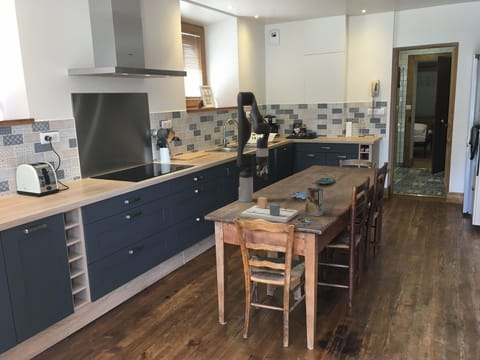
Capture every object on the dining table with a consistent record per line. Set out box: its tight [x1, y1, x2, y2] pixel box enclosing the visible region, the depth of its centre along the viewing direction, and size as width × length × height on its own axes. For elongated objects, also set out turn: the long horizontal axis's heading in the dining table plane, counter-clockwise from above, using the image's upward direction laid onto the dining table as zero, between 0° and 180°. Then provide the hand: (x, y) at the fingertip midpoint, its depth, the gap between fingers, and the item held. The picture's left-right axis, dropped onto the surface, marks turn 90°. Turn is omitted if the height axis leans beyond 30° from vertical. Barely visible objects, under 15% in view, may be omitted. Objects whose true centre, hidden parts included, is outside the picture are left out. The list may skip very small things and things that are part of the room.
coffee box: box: [305, 187, 324, 217], centre depth 253 cm, size 9×6×16 cm
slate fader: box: [269, 203, 281, 216], centre depth 246 cm, size 5×4×6 cm
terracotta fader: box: [257, 196, 268, 208], centre depth 263 cm, size 5×4×6 cm
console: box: [240, 204, 300, 223], centre depth 255 cm, size 30×20×2 cm
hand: (262, 180), depth 260 cm, fingers open, 8 cm apart
